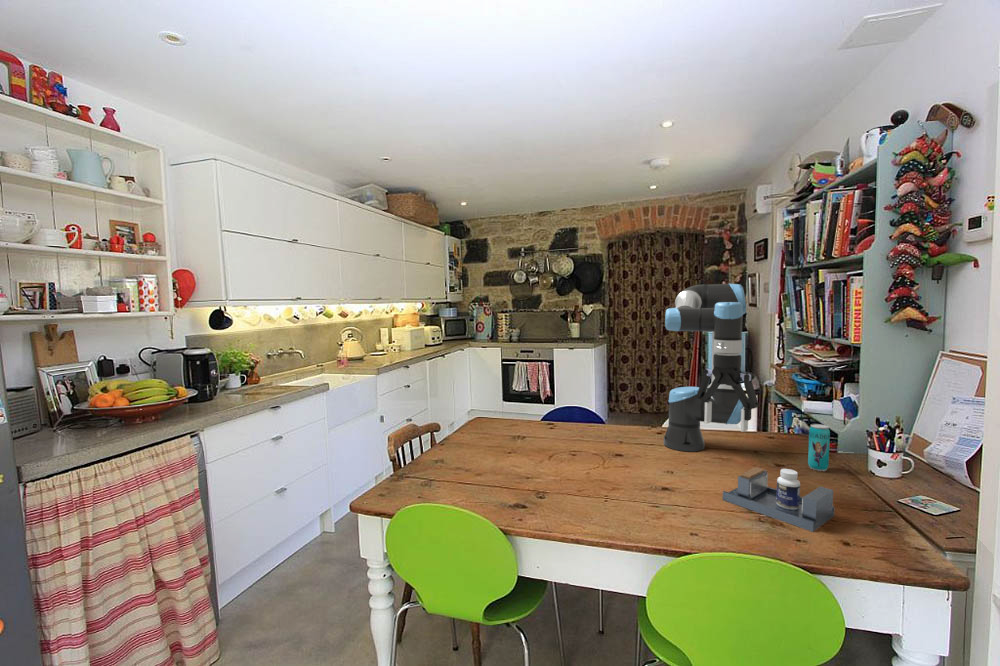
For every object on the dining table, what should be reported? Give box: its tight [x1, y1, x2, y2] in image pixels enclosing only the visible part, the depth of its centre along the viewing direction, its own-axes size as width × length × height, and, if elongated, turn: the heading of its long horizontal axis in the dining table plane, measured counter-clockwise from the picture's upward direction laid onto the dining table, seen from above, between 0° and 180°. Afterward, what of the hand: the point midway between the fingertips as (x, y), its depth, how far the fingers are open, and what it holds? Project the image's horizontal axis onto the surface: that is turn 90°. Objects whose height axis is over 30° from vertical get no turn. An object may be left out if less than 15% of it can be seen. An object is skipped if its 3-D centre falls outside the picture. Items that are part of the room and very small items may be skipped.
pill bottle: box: [776, 468, 801, 510], centre depth 125 cm, size 5×5×10 cm
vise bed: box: [722, 485, 835, 533], centre depth 127 cm, size 23×14×8 cm, turn 36°
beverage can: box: [807, 423, 831, 472], centre depth 155 cm, size 6×6×15 cm
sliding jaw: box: [737, 466, 769, 500], centre depth 132 cm, size 3×11×7 cm, turn 126°
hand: (725, 426), depth 138 cm, fingers open, 10 cm apart
